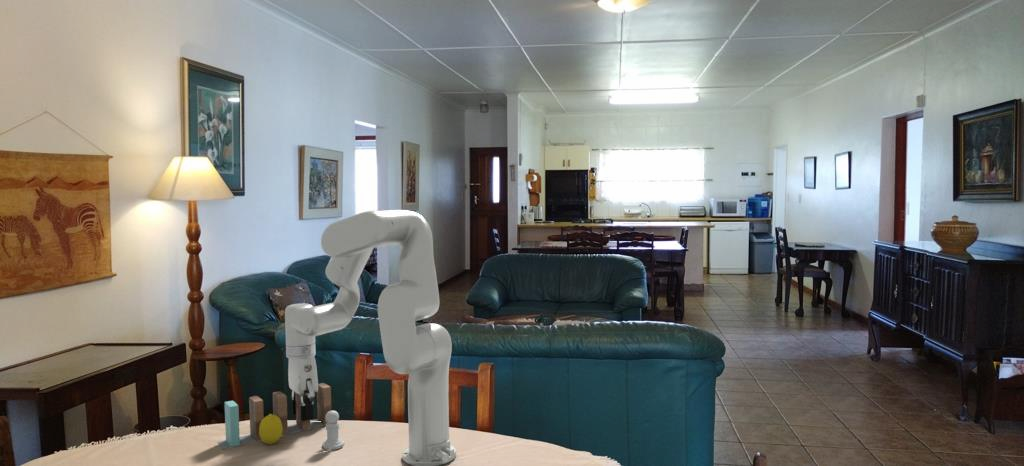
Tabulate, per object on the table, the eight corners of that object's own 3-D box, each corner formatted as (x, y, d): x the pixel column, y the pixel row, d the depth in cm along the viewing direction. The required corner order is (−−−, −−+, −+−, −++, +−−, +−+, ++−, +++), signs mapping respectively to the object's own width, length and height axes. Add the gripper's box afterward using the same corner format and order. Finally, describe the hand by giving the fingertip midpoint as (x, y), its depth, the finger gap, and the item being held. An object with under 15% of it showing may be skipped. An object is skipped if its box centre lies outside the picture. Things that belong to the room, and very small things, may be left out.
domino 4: (331, 422, 175) (330, 386, 175) (324, 424, 174) (323, 388, 173) (324, 418, 179) (323, 382, 178) (317, 419, 178) (316, 384, 177)
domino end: (239, 444, 160) (238, 405, 160) (231, 446, 159) (229, 406, 158) (234, 438, 164) (232, 400, 164) (225, 440, 163) (224, 402, 162)
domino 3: (310, 428, 171) (309, 391, 171) (303, 429, 170) (301, 392, 170) (303, 423, 175) (302, 387, 175) (296, 424, 174) (295, 388, 174)
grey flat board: (333, 424, 175) (333, 423, 175) (223, 450, 157) (223, 449, 157) (324, 418, 180) (324, 417, 180) (217, 443, 162) (216, 442, 162)
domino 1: (264, 438, 164) (263, 400, 163) (256, 440, 163) (254, 402, 162) (258, 433, 168) (257, 395, 167) (250, 435, 167) (249, 397, 166)
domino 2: (287, 433, 168) (286, 395, 167) (280, 435, 166) (278, 397, 166) (281, 428, 172) (280, 391, 171) (273, 429, 170) (272, 392, 170)
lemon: (275, 450, 157) (274, 418, 157) (254, 448, 158) (253, 416, 158) (287, 441, 163) (286, 410, 162) (267, 440, 164) (266, 409, 163)
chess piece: (320, 451, 156) (319, 414, 156) (324, 442, 162) (323, 407, 161) (342, 450, 157) (341, 413, 156) (346, 441, 162) (345, 406, 162)
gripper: (327, 353, 167) (328, 421, 168) (303, 342, 181) (305, 405, 182) (298, 358, 163) (300, 428, 163) (276, 346, 176) (278, 411, 177)
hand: (302, 415), depth 173 cm, fingers open, 5 cm apart
